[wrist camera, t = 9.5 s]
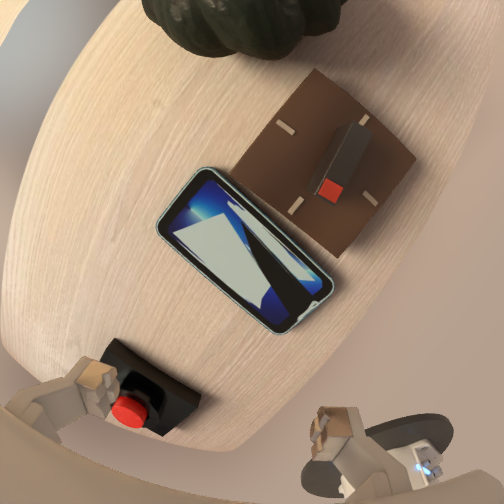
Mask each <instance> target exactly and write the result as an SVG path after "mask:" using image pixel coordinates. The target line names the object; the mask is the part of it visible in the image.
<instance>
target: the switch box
mask: <svg viewBox="0 0 504 504" xmlns="http://www.w3.org/2000/svg"><path fill="white" fill-rule="evenodd" d="M99 362H102V363H104V364H107V365H109V366H112V367H115V368H116V369H117V374H118V375H117V376H116V379H117V380H118V381H119V384H120V392H119V395H118V398H119V397H121V396H124V397H128V398H131V399H134V400H135V401H137V402H138V403H140V404H141V405H143V406H144V408H145V409H146V410H147V412H148V415H147V418H146V420H145V422H144V424H143V426H142V428H148V429H149V430H151V431H153V432H155V433H157V434H158V435H160V436H162V437H163V436H164V435H165V434H167V433H168V432H169V431H171V430H172V429H173V428H174V427H175V426H177V425H178V424H179V423H180V422H182V421H183V420H184V419H185V418H186V417H188V416H189V415H190V414H191V413H192V412H194V411H195V410H196V409H197V408H198V406H199V402H200V399H201V394H199V393H197V392H196V391H194V390H192V389H190V388H189V387H187V386H185V385H184V384H182V383H180V382H179V381H177V380H175V379H174V378H172V377H170V376H169V375H167V374H166V373H164V372H163V371H161V370H159V369H158V368H156V367H155V366H153V365H152V364H150V363H149V362H147V361H146V360H144V359H143V358H142V357H140V356H139V355H137V354H136V353H134V352H133V351H132V350H130V349H129V348H127V347H126V346H125V345H123V344H122V343H121V342H119V341H118V340H117V339H115V338H114V339H113V340H112V342H111V343H110V344H109V345H108V347H107V348H106V350H105V351H104V353H103V355H102V357H101V359H100V361H99ZM115 402H116V401H115ZM115 402H114V403H112V404H110V407H111V410H112V407H113V405H114V404H115Z"/></svg>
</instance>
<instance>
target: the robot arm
mask: <svg viewBox="0 0 504 504" xmlns="http://www.w3.org/2000/svg"><path fill="white" fill-rule="evenodd" d="M117 375H118V374H117V369H116V368H115V367H112V366H109V365H107V364H104V363H102V362H99V361H97V360H94V359H91V358H89V357H86V356H84V357H82V358H81V359H80V360H79V361H78V362H77V363H76V364H75V366H74V367H73V368H72V369H71V370H70V371H69V373H68V374H67V375H66V376H65V377H64V378H63V377H60V378H57V379H54V380H51V381H48V382H44V383H41V384H38V385H35V386H32V387H29V388H26V389H22V390H19V391H18V392H17V393H16V395H15V396H14V397H13V398H12V399H11V400H10V401H9V402H8V404H7V405H6V406H5V407H2V406H1V405H0V504H257V503H247V502H238V501H229V500H223V499H217V498H211V497H206V496H200V495H196V494H191V493H186V492H182V491H178V490H174V489H170V488H167V487H163V486H159V485H156V484H153V483H149V482H146V481H143V480H140V479H137V478H134V477H131V476H129V475H126V474H123V473H121V472H118V471H116V470H113V469H110V468H108V467H106V466H103V465H101V464H99V463H96V462H94V461H92V460H90V459H88V458H86V457H83V456H81V455H79V454H77V453H75V452H73V451H71V450H69V449H68V448H66V447H64V446H62V445H61V443H62V441H61V439H60V437H59V436H58V434H57V432H56V431H57V430H59V429H61V428H63V427H65V426H67V425H68V424H70V423H72V422H74V421H76V420H78V419H79V418H81V417H83V416H85V415H87V413H89V414H91V415H93V416H96V417H98V418H101V419H104V420H105V419H106V417H107V415H108V413H109V412H110V410H111V407H110V404H112V403H114V402H115V401H116V400H117V398H118V395H119V392H120V384H119V381H118V380H117V379H116V376H117ZM317 414H318V417H317V418H315V419H314V420H313V422H312V424H311V429H310V440H311V441H312V442H313V443H314V445H313V446H312V448H311V449H312V460H313V461H333V464H334V465H335V466H336V467H337V469H338V470H339V471H340V472H341V474H342V476H341V483H342V484H341V485H340V486H339V488H338V490H339V493H344V497H345V503H337V504H504V487H503V485H502V484H501V482H500V481H499V480H497V479H496V478H494V477H493V476H491V475H490V474H488V473H486V472H484V471H482V470H474V471H471V472H469V473H466V474H463V475H461V476H458V477H455V478H453V479H450V480H447V481H444V482H441V483H439V480H438V477H440V476H441V475H442V474H443V472H442V470H441V468H440V466H439V464H440V463H441V462H442V461H443V456H442V455H441V454H440V453H439V451H438V450H437V449H436V448H435V447H434V446H433V445H432V444H431V443H430V441H429V440H428V439H422V440H420V441H417V442H415V443H413V444H410V445H407V446H404V447H399V448H394V449H391V450H387V451H386V450H384V449H383V448H382V447H381V446H380V445H379V444H377V443H376V442H375V441H374V440H373V439H372V438H371V437H366V434H365V430H364V427H363V423H362V420H361V417H360V414H359V410H358V408H357V407H323V406H322V407H320V408H319V410H318V412H317Z"/></svg>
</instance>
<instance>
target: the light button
mask: <svg viewBox="0 0 504 504" xmlns="http://www.w3.org/2000/svg"><path fill="white" fill-rule="evenodd" d="M112 414H113V416H114V417H115V418H116V419H117V420H118V421H119V422H121V423H122V424H124V425H126V426H128V427H132V428H141V427H142V426H143V424H144V422H145V420H146V418H147V415H148V412H147V410H146V409H145V408H144V406H143V405H141V404H140V403H138V402H137V401H135V400H134V399H131V398H128V397H124V396H121V397H119V398H117V400H116V402H115V404H114V405H113V407H112Z"/></svg>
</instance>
